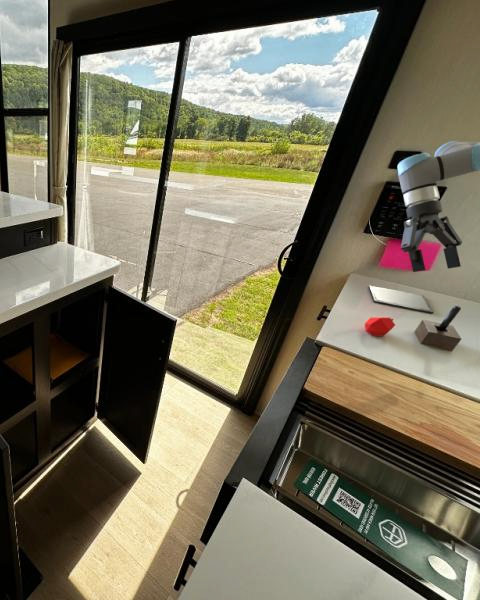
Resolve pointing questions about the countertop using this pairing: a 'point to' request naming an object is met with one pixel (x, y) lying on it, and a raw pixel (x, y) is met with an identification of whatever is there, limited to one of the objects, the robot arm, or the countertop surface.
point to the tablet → (400, 299)
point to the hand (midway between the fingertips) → (437, 269)
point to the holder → (437, 335)
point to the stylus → (449, 318)
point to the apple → (379, 326)
